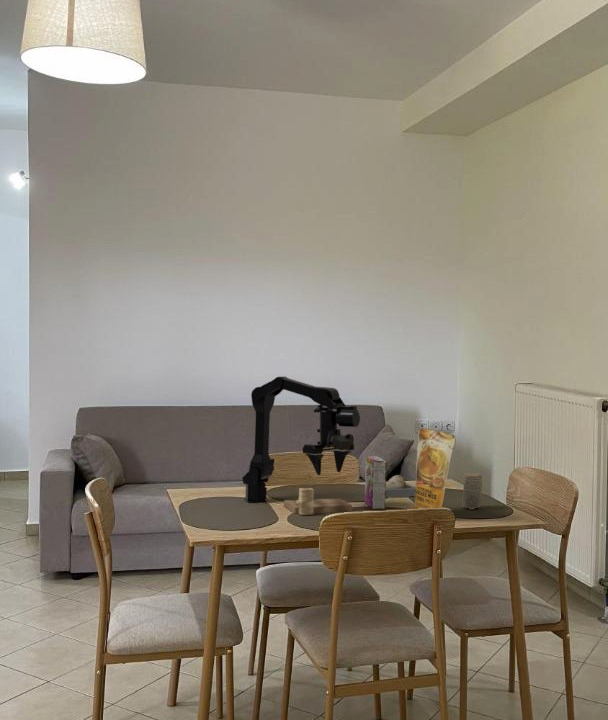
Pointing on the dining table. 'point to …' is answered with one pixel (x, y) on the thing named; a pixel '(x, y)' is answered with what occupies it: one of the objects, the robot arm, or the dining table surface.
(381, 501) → the candy bar box
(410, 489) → the mug coaster tray
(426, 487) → the pancake mix bag
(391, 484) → the beige rock
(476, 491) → the carving
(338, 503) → the board
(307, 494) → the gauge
